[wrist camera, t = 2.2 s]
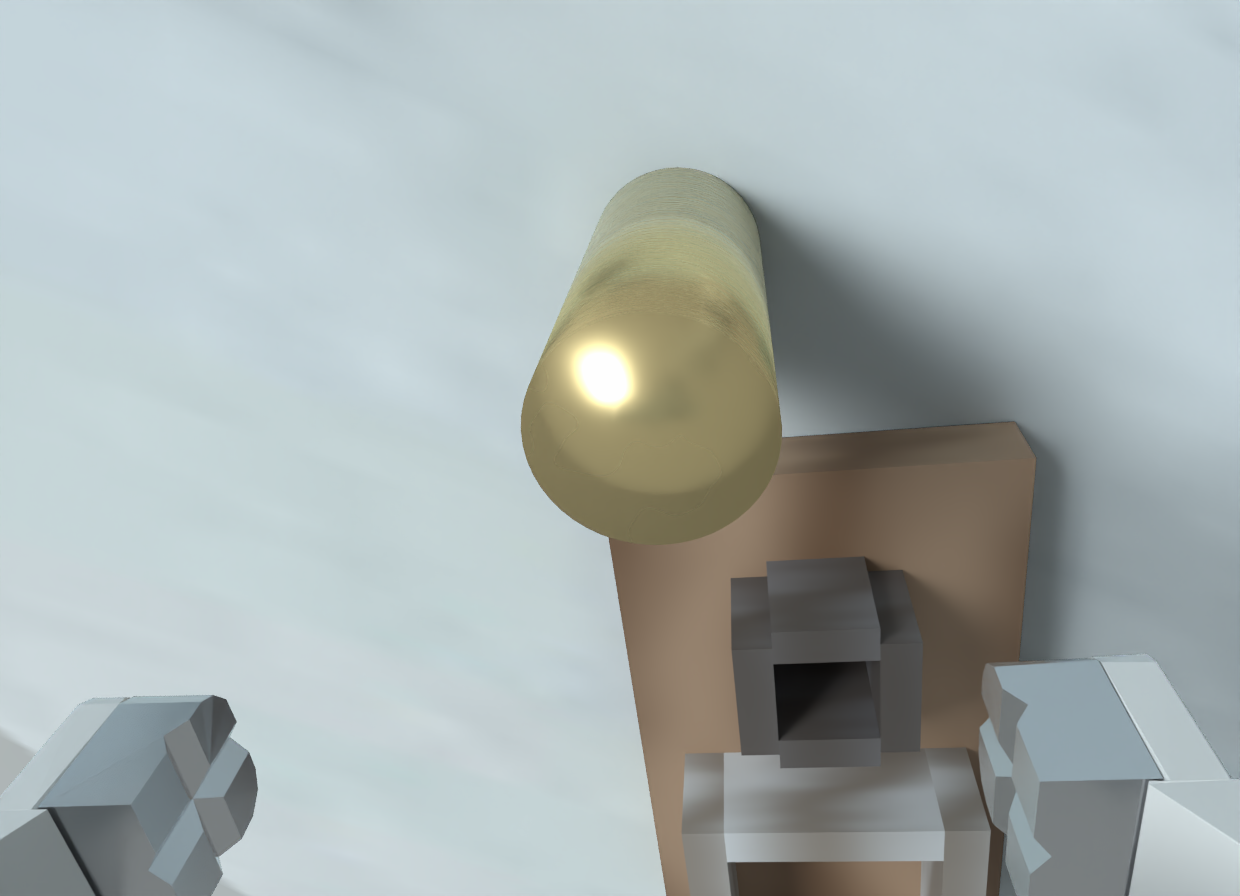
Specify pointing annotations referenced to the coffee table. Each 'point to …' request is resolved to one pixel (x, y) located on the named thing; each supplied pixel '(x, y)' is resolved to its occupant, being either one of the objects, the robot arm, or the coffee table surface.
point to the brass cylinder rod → (660, 368)
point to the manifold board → (834, 668)
